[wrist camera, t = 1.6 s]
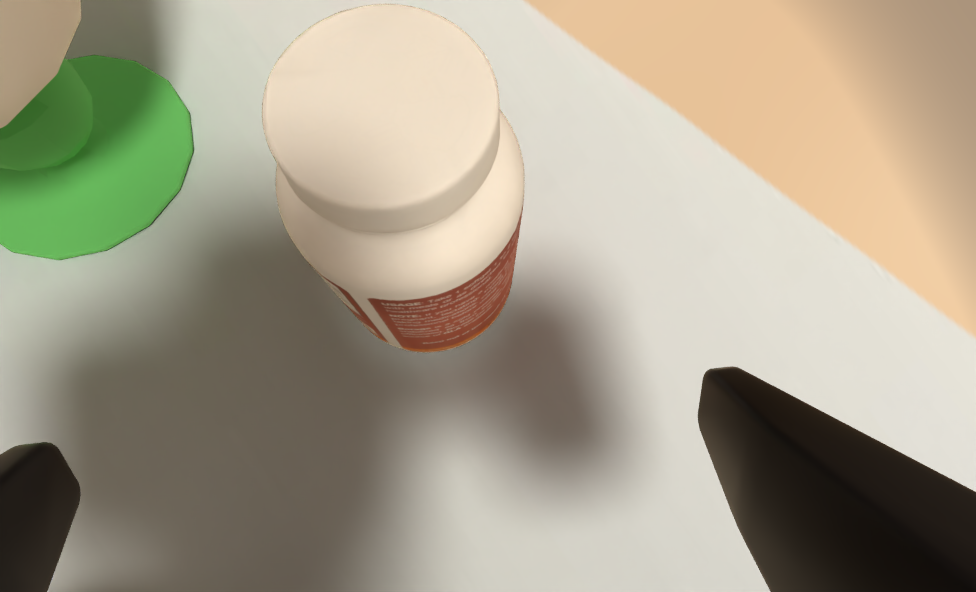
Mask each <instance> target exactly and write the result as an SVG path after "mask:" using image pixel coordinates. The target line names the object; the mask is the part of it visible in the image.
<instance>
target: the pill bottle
mask: <svg viewBox="0 0 976 592" xmlns="http://www.w3.org/2000/svg"><path fill="white" fill-rule="evenodd" d="M262 121H263V129H264V133H265V136H266V140H267V143H268V146H269V149H270V151H271V153H272V155H273V157H274V158H275V160H276V162H277V169H276V195H277V202H278V207H279V212H280V215H281V218H282V221H283V224H284V226H285V228H286V230H287V232H288V234H289V236H290V238H291V240H292V241H293V243H294V244H295V246H296V247H297V248H298V250H299V251H300V253H301V254H302V255H303V257H304V258H305V259H306V260H307V262H308V263H309V264H310V265H311V266H312V267H313V268H314V269H315V271H316V272H317V273H318V274H319V275H320V276H321V277H322V278H323V280H324V281H325V282H326V283H327V284H328V286H329V287H330V288H331V289H332V290H333V291H334V292H335V293H336V295H337V296H338V297H339V298H340V299H341V300H342V301H343V303H344V304H345V305H346V306H347V307H348V308H349V309H350V310H351V312H352V313H353V314H354V315H355V316H356V317H357V318H358V320H359V321H360V322H361V323H362V324H363V325H364V326H365V327H366V328H367V329H368V330H369V331H370V332H372V333H373V334H374V335H375V336H376V337H378V338H379V339H381V340H383V341H384V342H386V343H388V344H390V345H392V346H394V347H397V348H400V349H403V350H407V351H412V352H422V353H431V352H440V351H446V350H450V349H454V348H457V347H459V346H462V345H464V344H466V343H468V342H470V341H472V340H473V339H475V338H476V337H478V336H479V335H481V334H482V333H483V332H484V331H485V330H486V329H488V328H489V327H490V326H491V324H492V323H493V322H494V321H495V320H496V318H497V317H498V316H499V314H500V312H501V311H502V309H503V307H504V305H505V303H506V300H507V298H508V295H509V292H510V288H511V284H512V278H513V271H514V264H515V257H516V251H517V243H518V238H519V230H520V224H521V217H522V211H523V200H524V164H523V159H522V154H521V150H520V147H519V144H518V141H517V138H516V136H515V134H514V131H513V129H512V127H511V125H510V124H509V122H508V120H507V118H506V117H505V116H504V114H503V113H502V112H501V110H500V107H499V93H498V86H497V81H496V78H495V75H494V72H493V70H492V67H491V65H490V63H489V61H488V59H487V58H486V56H485V54H484V53H483V51H482V50H481V49H480V47H479V46H478V45H477V44H476V42H475V41H474V40H473V39H472V38H471V37H470V36H469V35H468V34H467V33H466V32H464V31H463V30H462V29H461V28H459V27H458V26H457V25H455V24H454V23H452V22H450V21H449V20H447V19H445V18H443V17H442V16H439V15H437V14H435V13H432V12H430V11H427V10H423V9H420V8H416V7H412V6H405V5H398V4H375V5H368V6H361V7H357V8H353V9H349V10H345V11H341V12H338V13H336V14H334V15H332V16H330V17H327V18H325V19H323V20H321V21H319V22H317V23H316V24H314V25H312V26H311V27H309V28H308V29H307V30H306V31H304V32H303V33H302V34H301V35H299V36H298V37H297V38H296V39H295V40H294V41H293V42H292V43H291V44H290V45H289V46H288V47H287V48H286V50H285V51H284V52H283V53H282V55H281V56H280V57H279V59H278V61H277V62H276V64H275V65H274V67H273V69H272V71H271V73H270V75H269V78H268V81H267V84H266V87H265V91H264V96H263V102H262Z"/></svg>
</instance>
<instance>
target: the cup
mask: <svg viewBox="0 0 976 592" xmlns="http://www.w3.org/2000/svg"><path fill="white" fill-rule="evenodd" d="M80 21H81V0H0V244H1V245H3V246H4V247H5V248H7V249H8V250H10V251H11V252H14V253H19V254H25V255H31V256H37V257H43V258H49V259H55V260H62V259H67V258H72V257H77V256H82V255H87V254H92V253H96V252H101V251H106V250H109V249H110V248H112V247H114V246H115V245H117V244H119V243H120V242H122V241H124V240H126V239H127V238H129V237H131V236H132V235H134V234H136V233H138V232H139V231H141V230H143V229H144V228H146V227H148V226H149V225H150V224H151V223H152V222H153V221H154V220H155V219H156V217H157V216H158V215H159V214H160V213H161V212H162V210H163V209H164V208H165V207H166V206H167V205H168V203H169V202H170V201H171V200H172V199H173V198H174V196H175V195H176V194H177V193H178V192H179V191H180V188H181V185H182V183H183V180H184V177H185V174H186V171H187V168H188V165H189V162H190V159H191V156H192V154H193V151H194V150H193V140H192V131H191V121H190V113H189V111H188V110H187V108H186V107H185V105H184V104H183V102H182V101H181V99H180V98H179V96H178V95H177V93H176V92H175V90H174V89H173V87H172V85H171V84H170V82H169V81H168V80H166V79H164V78H163V77H161V76H159V75H158V74H156V73H154V72H153V71H151V70H149V69H148V68H146V67H144V66H143V65H141V64H139V63H138V62H136V61H131V60H125V59H118V58H112V57H105V56H98V55H91V56H85V57H79V58H74V59H68V60H66V59H65V58H64V57H65V55H66V53H67V50H68V48H69V46H70V43H71V41H72V39H73V37H74V34H75V32H76V30H77V27H78V25H79V23H80Z"/></svg>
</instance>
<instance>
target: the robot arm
mask: <svg viewBox="0 0 976 592" xmlns="http://www.w3.org/2000/svg"><path fill="white" fill-rule="evenodd" d="M698 423H699V428H700V431H701V434H702V436H703V439H704V441H705V444H706V447H707V449H708V452H709V454H710V457H711V460H712V462H713V465H714V467H715V470H716V473H717V475H718V478H719V480H720V483H721V486H722V488H723V491H724V493H725V496H726V499H727V501H728V504H729V506H730V509H731V512H732V514H733V516H734V519H735V521H736V524H737V526H738V528H739V530H740V532H741V534H742V536H743V539H744V541H745V543H746V545H747V547H748V549H749V550H750V552H751V554H752V556H753V558H754V560H755V562H756V564H757V566H758V568H759V570H760V572H761V574H762V576H763V578H764V580H765V582H766V583H767V585H768V587H769V589H770V591H771V592H976V492H975V491H973V490H971V489H969V488H967V487H965V486H963V485H961V484H959V483H958V482H956V481H954V480H952V479H950V478H948V477H946V476H944V475H942V474H940V473H938V472H937V471H935V470H933V469H931V468H929V467H927V466H925V465H923V464H921V463H919V462H917V461H916V460H914V459H912V458H910V457H908V456H906V455H904V454H902V453H900V452H898V451H896V450H895V449H893V448H891V447H889V446H887V445H885V444H883V443H881V442H879V441H877V440H875V439H874V438H872V437H870V436H868V435H866V434H864V433H862V432H860V431H858V430H856V429H854V428H853V427H851V426H849V425H847V424H845V423H843V422H841V421H839V420H837V419H835V418H833V417H832V416H830V415H828V414H826V413H824V412H822V411H820V410H818V409H816V408H814V407H812V406H811V405H809V404H807V403H805V402H803V401H801V400H799V399H797V398H795V397H793V396H791V395H790V394H788V393H786V392H784V391H782V390H780V389H778V388H776V387H774V386H772V385H770V384H769V383H767V382H765V381H763V380H761V379H759V378H757V377H755V376H753V375H751V374H749V373H748V372H746V371H744V370H742V369H740V368H737V367H723V368H714V369H709V370H708V371H706V373H705V374H704V377H703V382H702V389H701V396H700V403H699V410H698ZM80 496H81V493H80V486H79V483H78V481H77V479H76V477H75V476H74V474H73V472H72V471H71V469H70V467H69V466H68V464H67V462H66V460H65V459H64V457H63V455H62V454H61V452H60V450H59V449H58V448H57V447H56V446H55V445H53V444H52V443H47V442H42V443H33V444H24V445H18V446H15V447H13V448H11V449H9V450H7V451H6V452H4V453H2V454H1V455H0V592H47V591H48V588H49V585H50V582H51V580H52V577H53V574H54V571H55V569H56V566H57V563H58V560H59V558H60V555H61V552H62V549H63V547H64V544H65V541H66V538H67V536H68V533H69V530H70V527H71V525H72V522H73V519H74V516H75V513H76V511H77V508H78V505H79V502H80Z"/></svg>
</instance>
